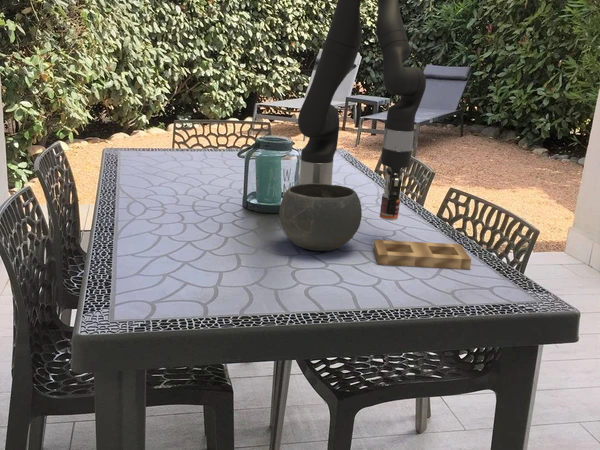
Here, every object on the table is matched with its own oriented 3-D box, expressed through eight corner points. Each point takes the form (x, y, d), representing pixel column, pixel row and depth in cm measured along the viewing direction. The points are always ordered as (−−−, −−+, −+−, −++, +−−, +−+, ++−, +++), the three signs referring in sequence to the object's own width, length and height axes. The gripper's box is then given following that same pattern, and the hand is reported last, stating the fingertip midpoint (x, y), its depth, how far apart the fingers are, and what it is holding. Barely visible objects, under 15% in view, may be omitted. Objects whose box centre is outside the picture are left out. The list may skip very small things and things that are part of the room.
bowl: (369, 244, 180) (374, 188, 176) (340, 266, 162) (345, 204, 158) (299, 231, 188) (302, 177, 184) (264, 251, 170) (266, 191, 166)
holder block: (377, 264, 165) (378, 254, 164) (373, 249, 176) (373, 239, 176) (470, 269, 165) (471, 259, 164) (459, 253, 177) (460, 244, 176)
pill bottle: (397, 221, 179) (401, 190, 176) (378, 219, 180) (382, 187, 177) (398, 217, 183) (402, 186, 181) (380, 214, 184) (384, 183, 182)
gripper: (380, 140, 183) (373, 203, 188) (385, 151, 169) (377, 217, 174) (408, 143, 183) (400, 205, 188) (415, 153, 169) (407, 220, 174)
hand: (389, 211), depth 181 cm, fingers closed on pill bottle, 4 cm apart
